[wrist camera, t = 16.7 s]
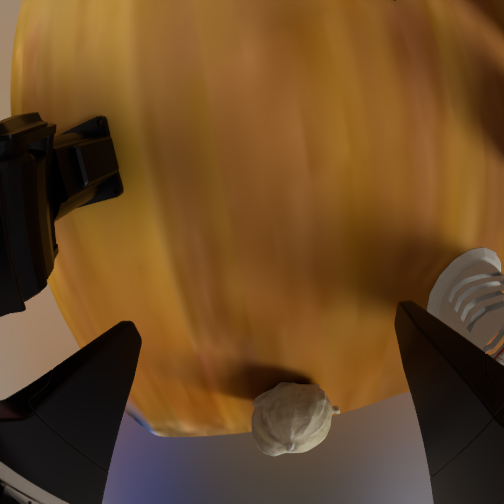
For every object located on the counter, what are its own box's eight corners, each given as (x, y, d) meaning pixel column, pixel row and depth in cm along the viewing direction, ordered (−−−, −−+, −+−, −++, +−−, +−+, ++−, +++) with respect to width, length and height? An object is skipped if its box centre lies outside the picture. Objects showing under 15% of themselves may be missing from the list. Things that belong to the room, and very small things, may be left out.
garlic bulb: (263, 384, 32) (228, 446, 25) (276, 352, 27) (234, 430, 20) (328, 409, 30) (302, 475, 23) (355, 382, 25) (329, 466, 18)
